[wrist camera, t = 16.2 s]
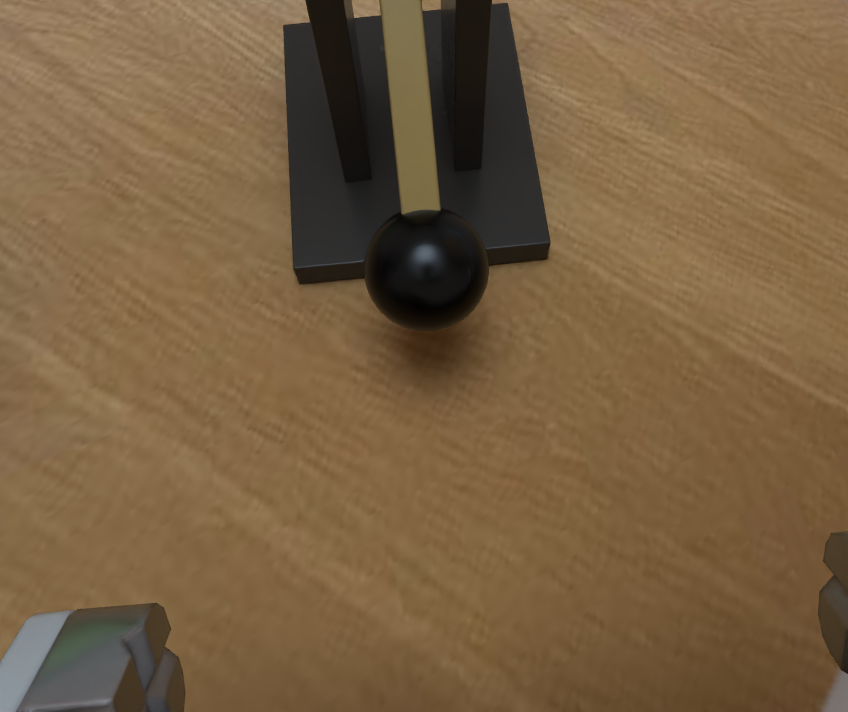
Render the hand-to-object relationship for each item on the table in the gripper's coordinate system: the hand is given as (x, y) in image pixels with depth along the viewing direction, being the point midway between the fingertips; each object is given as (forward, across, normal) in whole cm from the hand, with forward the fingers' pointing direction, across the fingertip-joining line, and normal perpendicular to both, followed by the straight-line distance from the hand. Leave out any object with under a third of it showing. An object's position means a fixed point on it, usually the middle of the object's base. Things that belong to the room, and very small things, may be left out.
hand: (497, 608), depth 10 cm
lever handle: (+17, 0, -5) cm, 17 cm away
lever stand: (+24, 0, -2) cm, 24 cm away
